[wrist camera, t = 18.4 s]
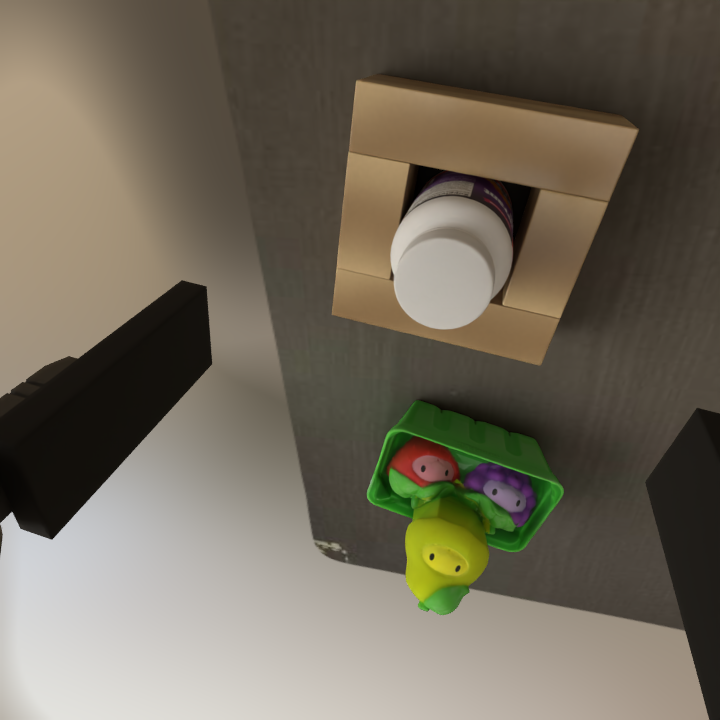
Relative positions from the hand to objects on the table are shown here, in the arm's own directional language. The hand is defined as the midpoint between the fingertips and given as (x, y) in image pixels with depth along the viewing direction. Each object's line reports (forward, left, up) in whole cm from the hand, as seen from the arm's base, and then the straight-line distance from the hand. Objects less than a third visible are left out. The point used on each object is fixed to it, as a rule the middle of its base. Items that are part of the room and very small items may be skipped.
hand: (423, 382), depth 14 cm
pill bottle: (0, 0, -17) cm, 17 cm away
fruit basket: (+17, +4, -17) cm, 25 cm away
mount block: (0, 0, -17) cm, 17 cm away
